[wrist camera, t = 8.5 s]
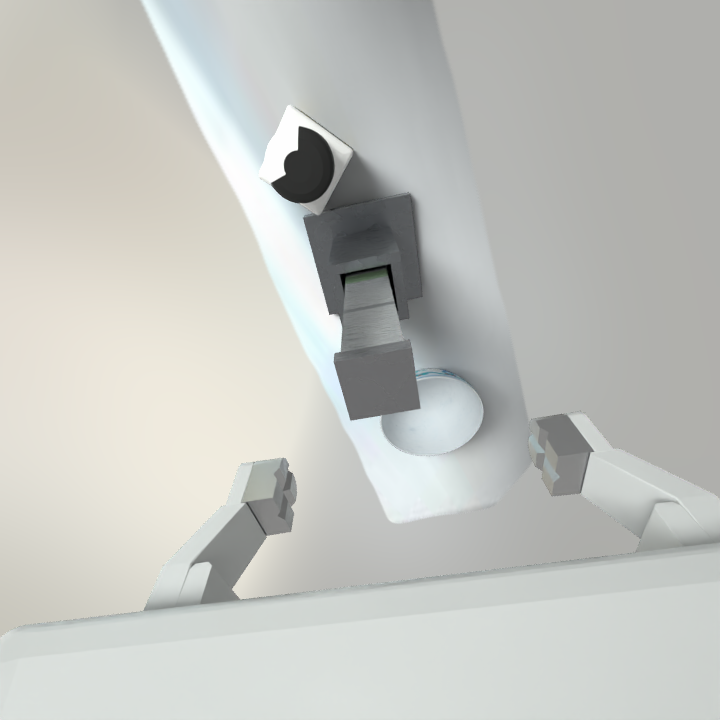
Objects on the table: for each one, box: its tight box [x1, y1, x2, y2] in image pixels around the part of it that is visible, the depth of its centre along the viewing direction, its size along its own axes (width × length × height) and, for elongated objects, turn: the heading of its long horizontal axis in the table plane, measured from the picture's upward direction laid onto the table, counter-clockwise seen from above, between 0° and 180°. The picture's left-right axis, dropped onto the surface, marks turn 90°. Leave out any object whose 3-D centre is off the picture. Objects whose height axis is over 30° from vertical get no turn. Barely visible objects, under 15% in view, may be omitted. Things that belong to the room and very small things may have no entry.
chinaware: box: [380, 369, 484, 456], centre depth 55 cm, size 15×15×8 cm
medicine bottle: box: [259, 105, 353, 215], centre depth 36 cm, size 7×7×12 cm
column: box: [334, 265, 421, 420], centre depth 31 cm, size 5×5×22 cm
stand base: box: [303, 192, 422, 327], centre depth 41 cm, size 13×13×14 cm
